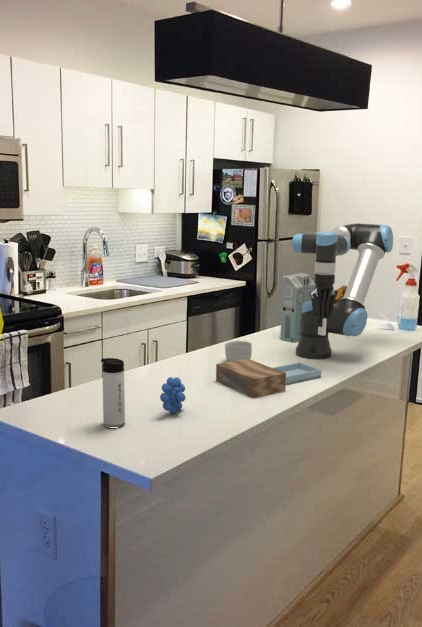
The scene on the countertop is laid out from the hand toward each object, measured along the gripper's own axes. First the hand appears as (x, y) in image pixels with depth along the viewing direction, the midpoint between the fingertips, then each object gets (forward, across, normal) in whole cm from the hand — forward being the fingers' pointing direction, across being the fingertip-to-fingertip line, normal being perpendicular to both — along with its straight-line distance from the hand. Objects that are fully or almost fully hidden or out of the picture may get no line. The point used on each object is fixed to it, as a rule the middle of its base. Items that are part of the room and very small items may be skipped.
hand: (321, 334), depth 238 cm
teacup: (+15, +18, -28) cm, 37 cm away
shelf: (+15, +34, 0) cm, 37 cm away
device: (+15, -30, -46) cm, 57 cm away
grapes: (+15, +71, +10) cm, 74 cm away
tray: (+15, +15, 0) cm, 21 cm away
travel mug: (+15, +91, +8) cm, 93 cm away
